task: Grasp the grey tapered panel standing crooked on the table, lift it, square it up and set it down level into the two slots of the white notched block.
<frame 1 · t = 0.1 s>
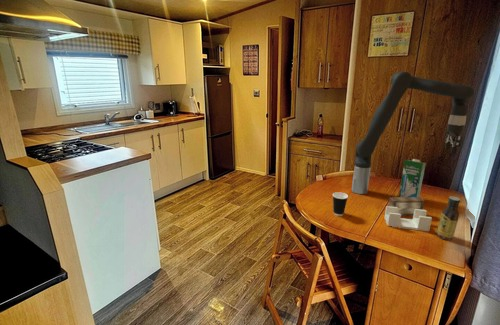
hand: (450, 151, 153), 29 cm above the table, fingers open, 8 cm apart
milk carton: (408, 199, 162), on the table
white notched block: (405, 224, 135), on the table
grey tapered panel: (404, 214, 145), on the table
dixie cup: (338, 214, 146), on the table
sauce bottle: (444, 237, 124), on the table
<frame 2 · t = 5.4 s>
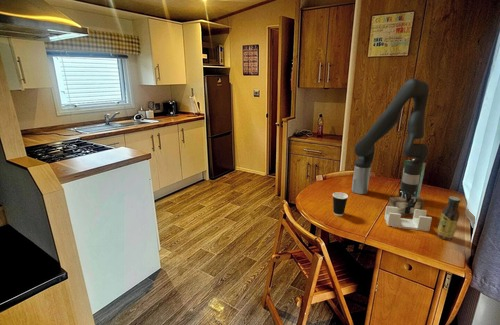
hand: (404, 210, 144), 2 cm above the table, fingers closed on grey tapered panel, 4 cm apart
grey tapered panel: (404, 213, 145), on the table, touching gripper
everything else where it was.
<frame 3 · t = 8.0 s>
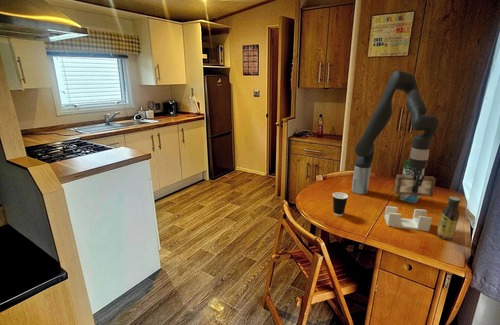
hand: (413, 190, 133), 17 cm above the table, fingers closed on grey tapered panel, 4 cm apart
grey tapered panel: (412, 193, 134), point 15 cm above the table, touching gripper
everything else where it was.
when the fingers open (6 cm above the table, at t = 10.9 s): grey tapered panel drops 2 cm, resting on white notched block.
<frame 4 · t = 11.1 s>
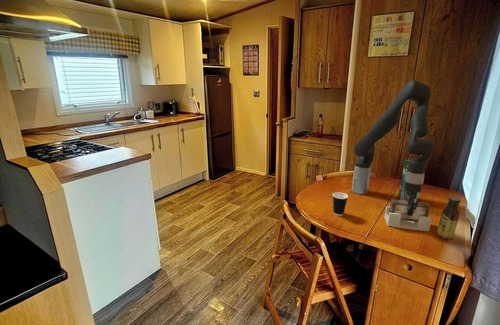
hand: (407, 212, 133), 7 cm above the table, fingers open, 5 cm apart
grey tapered panel: (406, 219, 134), point 3 cm above the table, touching white notched block
everything else where it was.
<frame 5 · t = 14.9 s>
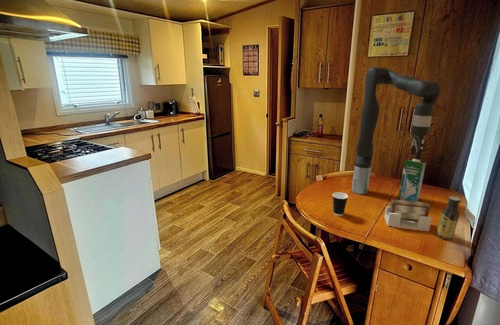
hand: (415, 157, 134), 32 cm above the table, fingers open, 8 cm apart
nothing on the table moved.
at the end: grey tapered panel 0.1 cm off-centre on the white notched block, point 3.0 cm above the white notched block's base; grey tapered panel tilted 0°; the gripper is holding nothing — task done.
